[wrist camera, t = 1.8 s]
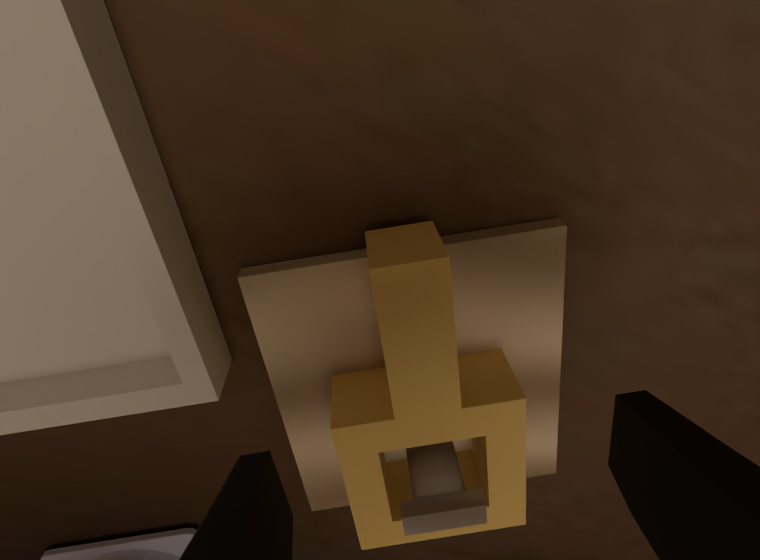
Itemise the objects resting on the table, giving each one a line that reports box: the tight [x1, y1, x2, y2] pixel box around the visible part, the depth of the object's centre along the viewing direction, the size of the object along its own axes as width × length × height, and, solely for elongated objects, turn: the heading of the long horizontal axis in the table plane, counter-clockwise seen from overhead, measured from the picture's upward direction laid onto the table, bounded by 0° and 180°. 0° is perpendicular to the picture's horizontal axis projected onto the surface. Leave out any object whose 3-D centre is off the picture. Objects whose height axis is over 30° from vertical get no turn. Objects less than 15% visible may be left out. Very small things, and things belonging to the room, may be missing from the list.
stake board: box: [237, 218, 567, 536], centre depth 19 cm, size 13×12×6 cm
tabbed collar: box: [330, 221, 526, 550], centre depth 19 cm, size 13×7×3 cm, turn 8°
